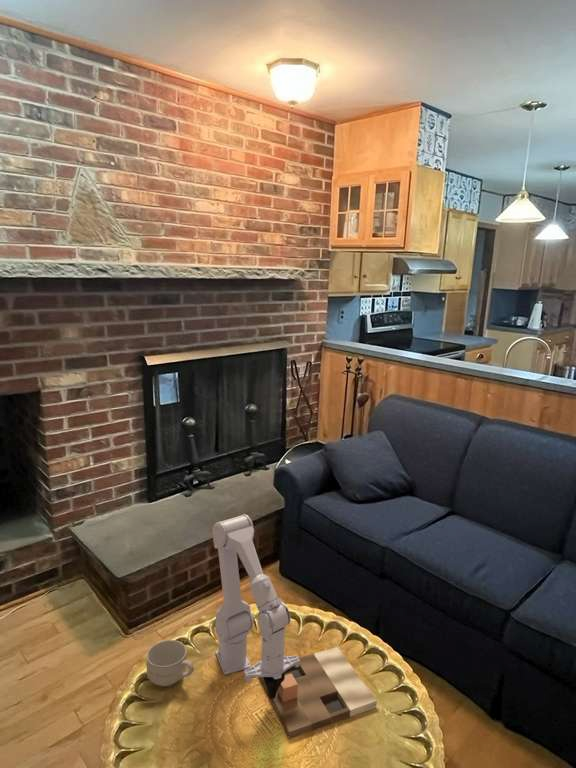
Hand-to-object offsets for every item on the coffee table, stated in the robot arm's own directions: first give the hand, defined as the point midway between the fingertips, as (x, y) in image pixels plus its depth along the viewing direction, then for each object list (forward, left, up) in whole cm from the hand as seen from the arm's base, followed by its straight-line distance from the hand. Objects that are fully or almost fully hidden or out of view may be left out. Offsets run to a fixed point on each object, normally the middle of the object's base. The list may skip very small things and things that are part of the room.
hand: (271, 695), depth 127 cm
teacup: (-18, -23, -3) cm, 29 cm away
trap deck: (0, +13, -3) cm, 13 cm away
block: (0, +4, -1) cm, 5 cm away
